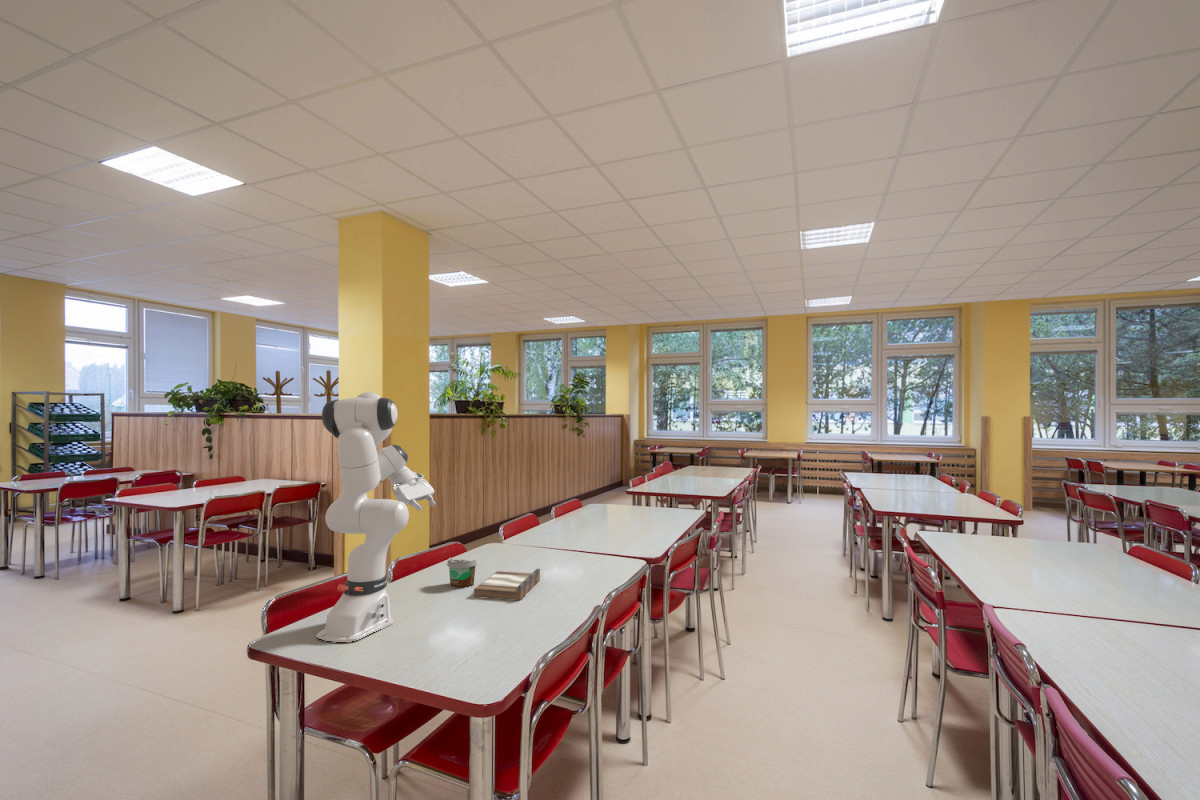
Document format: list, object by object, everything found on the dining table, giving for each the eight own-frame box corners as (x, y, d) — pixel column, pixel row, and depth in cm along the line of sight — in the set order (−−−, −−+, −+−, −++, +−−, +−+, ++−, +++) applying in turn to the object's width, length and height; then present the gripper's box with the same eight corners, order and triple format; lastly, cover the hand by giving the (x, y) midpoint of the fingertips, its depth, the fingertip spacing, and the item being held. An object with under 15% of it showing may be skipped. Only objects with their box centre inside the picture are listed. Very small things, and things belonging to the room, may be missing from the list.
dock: (520, 600, 181) (521, 586, 181) (473, 597, 184) (474, 583, 185) (539, 581, 203) (539, 568, 203) (497, 578, 206) (497, 566, 206)
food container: (440, 587, 195) (440, 561, 196) (449, 582, 201) (449, 557, 201) (468, 590, 192) (468, 563, 192) (476, 585, 197) (477, 559, 198)
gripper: (395, 479, 192) (418, 506, 190) (424, 473, 212) (445, 497, 210) (384, 491, 192) (407, 518, 190) (414, 483, 213) (435, 508, 210)
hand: (427, 507), depth 200 cm, fingers open, 8 cm apart
